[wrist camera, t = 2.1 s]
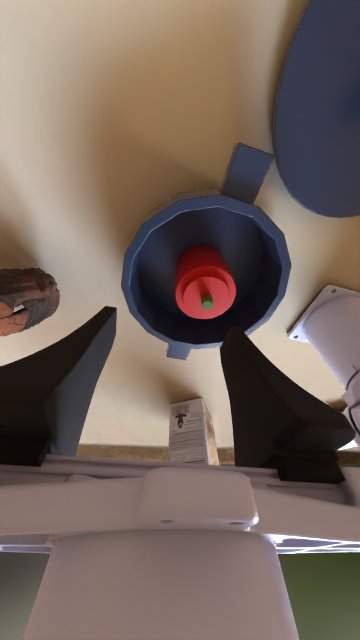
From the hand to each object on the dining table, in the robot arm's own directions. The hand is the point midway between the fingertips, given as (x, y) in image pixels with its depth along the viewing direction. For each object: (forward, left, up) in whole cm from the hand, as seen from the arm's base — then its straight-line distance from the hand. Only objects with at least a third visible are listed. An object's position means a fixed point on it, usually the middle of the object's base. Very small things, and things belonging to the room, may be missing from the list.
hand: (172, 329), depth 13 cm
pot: (-3, -1, -10) cm, 11 cm away
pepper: (-3, -1, -10) cm, 10 cm away
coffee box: (-11, +27, -10) cm, 31 cm away
